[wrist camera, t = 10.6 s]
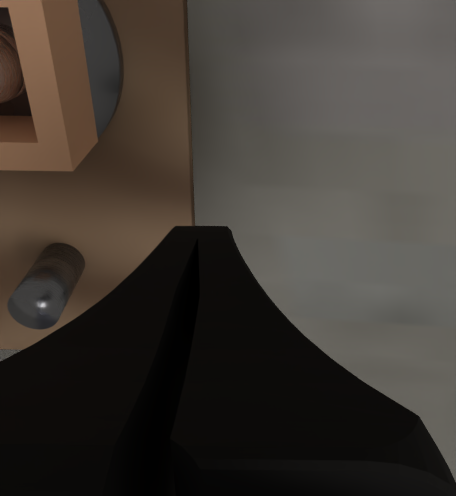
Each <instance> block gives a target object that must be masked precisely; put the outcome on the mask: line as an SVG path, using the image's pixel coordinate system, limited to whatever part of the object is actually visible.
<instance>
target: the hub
mask: <svg viewBox="0 0 456 496" xmlns="http://www.w3.org/2000/svg"><path fill="white" fill-rule="evenodd" d="M77 1H78V8H79V15H80V22H81V28H82V35H83V42H84V49H85V56H86V62H87V69H88V76H89V83H90V90H91V96H92V103H93V110H94V117H95V124H96V130H97V137H98V138H99V137H100V135H101V134H102V133H103V132H104V130H105V129H106V128H107V126H108V125H109V124H110V122H111V120H112V118H113V117H114V115H115V113H116V110H117V108H118V105H119V102H120V99H121V94H122V89H123V80H124V62H123V53H122V47H121V42H120V38H119V35H118V32H117V28H116V25H115V23H114V21H113V18H112V16H111V13H110V11H109V9H108V7H107V6H106V4H105V2H104V0H77ZM0 116H32V113H31V108H30V104H29V99H28V95H27V90H26V86H25V81H24V77H23V72H22V68H21V63H20V59H19V54H18V50H17V45H16V41H15V36H14V32H13V27H12V23H11V18H10V14H9V9H8V7H0Z"/></svg>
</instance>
